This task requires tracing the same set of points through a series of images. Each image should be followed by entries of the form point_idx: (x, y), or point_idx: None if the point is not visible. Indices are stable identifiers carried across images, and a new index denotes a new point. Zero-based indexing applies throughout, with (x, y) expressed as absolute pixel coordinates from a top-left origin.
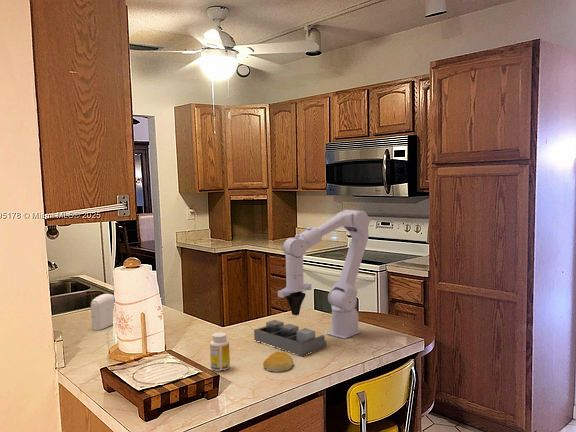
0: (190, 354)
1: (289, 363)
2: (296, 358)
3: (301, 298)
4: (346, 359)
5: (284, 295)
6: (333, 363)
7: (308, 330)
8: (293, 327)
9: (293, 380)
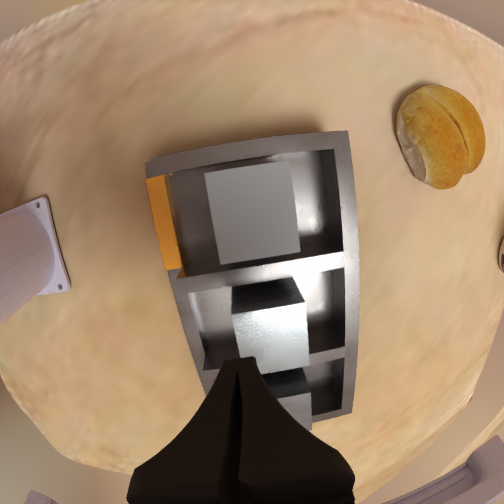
0: (479, 363)
1: (435, 86)
2: (352, 141)
3: (209, 458)
4: (197, 10)
5: (450, 479)
6: (268, 11)
7: (233, 210)
8: (268, 316)
9: (445, 37)
